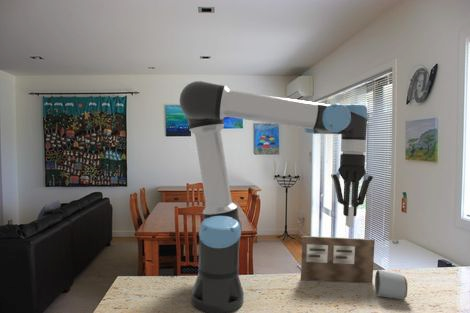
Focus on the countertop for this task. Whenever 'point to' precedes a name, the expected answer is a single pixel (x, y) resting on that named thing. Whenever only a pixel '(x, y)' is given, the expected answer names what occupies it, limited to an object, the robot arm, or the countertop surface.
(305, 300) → the countertop surface
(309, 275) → the wooden board
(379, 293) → the ceramic mug
